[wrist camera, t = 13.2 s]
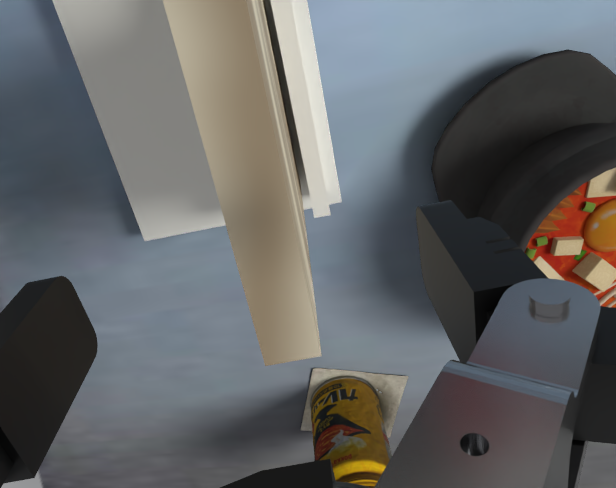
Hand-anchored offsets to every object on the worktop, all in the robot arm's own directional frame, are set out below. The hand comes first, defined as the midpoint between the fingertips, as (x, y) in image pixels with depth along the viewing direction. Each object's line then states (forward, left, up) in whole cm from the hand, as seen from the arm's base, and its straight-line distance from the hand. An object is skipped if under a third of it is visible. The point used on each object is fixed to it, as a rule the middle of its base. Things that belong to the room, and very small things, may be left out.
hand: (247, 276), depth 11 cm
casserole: (-19, +13, -24) cm, 33 cm away
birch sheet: (0, 0, -22) cm, 22 cm away
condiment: (-1, +28, -24) cm, 37 cm away
